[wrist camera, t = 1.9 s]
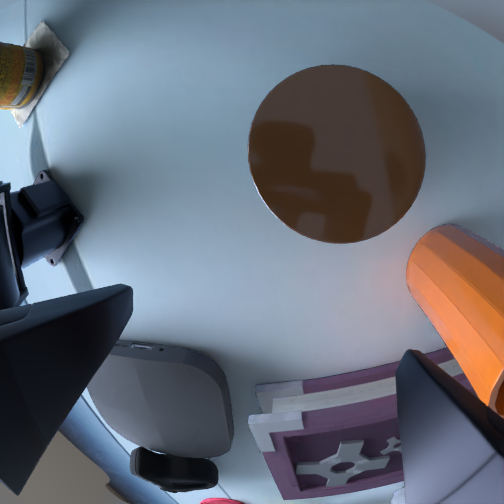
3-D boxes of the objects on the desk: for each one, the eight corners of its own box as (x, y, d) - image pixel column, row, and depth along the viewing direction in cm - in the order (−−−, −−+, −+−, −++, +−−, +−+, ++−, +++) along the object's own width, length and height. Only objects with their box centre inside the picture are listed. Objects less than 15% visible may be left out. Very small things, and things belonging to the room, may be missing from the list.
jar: (321, 248, 21) (329, 278, 16) (227, 147, 19) (208, 146, 15) (420, 164, 18) (454, 170, 13) (331, 58, 17) (343, 32, 12)
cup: (429, 322, 22) (497, 438, 10) (389, 264, 21) (474, 384, 9) (488, 270, 20) (583, 355, 8) (456, 205, 19) (582, 270, 6)
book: (506, 322, 21) (531, 349, 16) (475, 422, 26) (488, 449, 21) (254, 382, 26) (247, 423, 21) (284, 468, 30) (282, 500, 26)
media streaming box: (237, 445, 29) (233, 466, 26) (122, 426, 31) (113, 443, 28) (225, 346, 24) (217, 370, 22) (82, 331, 26) (66, 347, 23)
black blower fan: (228, 465, 33) (163, 469, 34) (190, 439, 26) (112, 442, 27) (231, 492, 30) (163, 495, 31) (191, 477, 23) (110, 475, 23)
